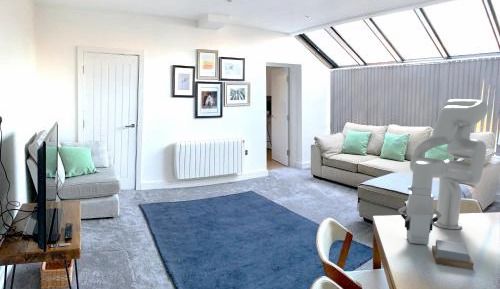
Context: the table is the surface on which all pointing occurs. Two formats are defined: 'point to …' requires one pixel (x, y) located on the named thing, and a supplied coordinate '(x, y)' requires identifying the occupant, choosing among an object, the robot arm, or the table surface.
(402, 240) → the table surface
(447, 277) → the table surface
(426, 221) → the supplement box
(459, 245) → the slate grey slab
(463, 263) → the walnut base slab
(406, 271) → the table surface
